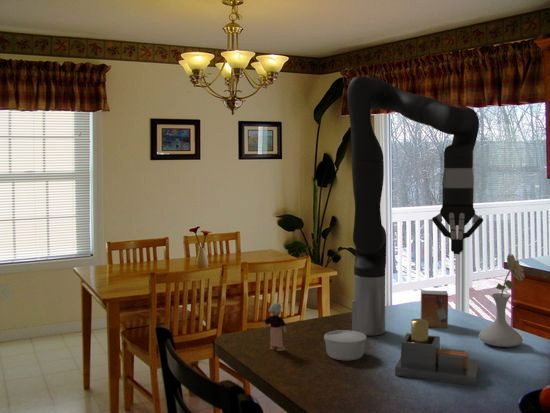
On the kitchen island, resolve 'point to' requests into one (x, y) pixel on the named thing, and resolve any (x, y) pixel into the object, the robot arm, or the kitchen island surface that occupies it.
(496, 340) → the flower in vase
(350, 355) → the ramekin
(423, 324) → the brass peg
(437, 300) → the small box
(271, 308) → the grandmother figurine
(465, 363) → the lock pin
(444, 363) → the dock
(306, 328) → the kitchen island surface
